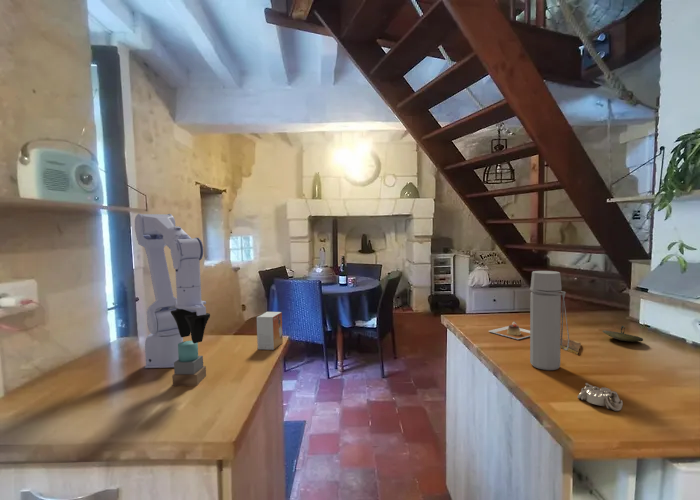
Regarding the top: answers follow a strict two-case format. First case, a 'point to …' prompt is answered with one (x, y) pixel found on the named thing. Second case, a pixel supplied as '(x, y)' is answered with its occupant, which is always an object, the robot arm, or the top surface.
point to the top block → (188, 366)
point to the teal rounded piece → (187, 351)
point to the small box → (269, 330)
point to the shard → (571, 346)
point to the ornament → (601, 397)
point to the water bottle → (546, 320)
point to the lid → (622, 336)
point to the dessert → (511, 331)
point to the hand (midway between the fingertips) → (191, 339)
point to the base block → (189, 378)
